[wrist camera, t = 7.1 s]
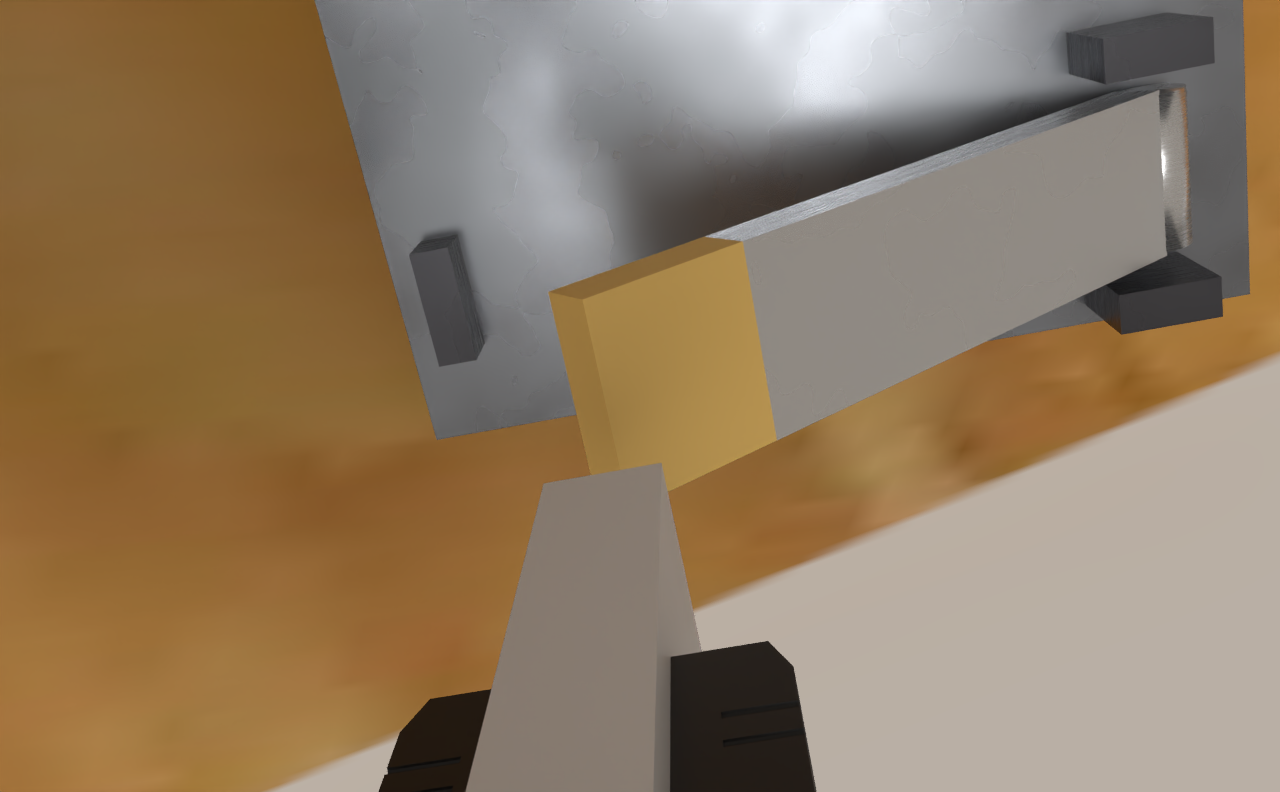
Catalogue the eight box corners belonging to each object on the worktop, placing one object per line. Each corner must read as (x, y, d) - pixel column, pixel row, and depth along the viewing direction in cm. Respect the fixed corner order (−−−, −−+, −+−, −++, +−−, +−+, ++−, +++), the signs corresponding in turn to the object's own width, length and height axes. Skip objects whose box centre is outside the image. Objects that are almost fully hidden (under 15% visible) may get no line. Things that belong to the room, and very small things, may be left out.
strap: (1139, 79, 29) (1200, 77, 28) (1148, 236, 31) (1206, 241, 29) (542, 290, 21) (588, 301, 20) (589, 491, 22) (635, 513, 21)
